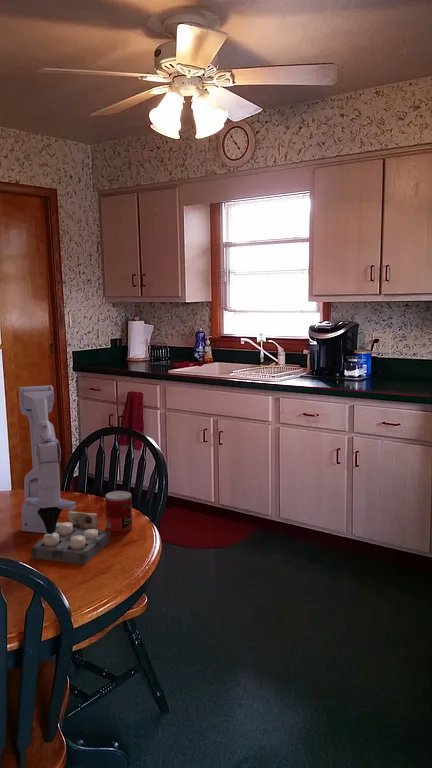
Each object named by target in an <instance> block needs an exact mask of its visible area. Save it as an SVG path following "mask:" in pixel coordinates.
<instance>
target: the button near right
mask: <svg viewBox="0 0 432 768" xmlns="http://www.w3.org/2000/svg"><path fill="white" fill-rule="evenodd" d="M70 547H71V549H73V550H83V549H84V548H85V537H84V536H81V535H77V536H73V537H71V538H70Z"/></svg>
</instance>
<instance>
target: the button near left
mask: <svg viewBox="0 0 432 768" xmlns="http://www.w3.org/2000/svg"><path fill="white" fill-rule="evenodd" d="M43 538H44V546H46V547H56V546H58V545H59V534H58V533H53V534H47V533H44V535H43Z"/></svg>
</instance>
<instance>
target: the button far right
mask: <svg viewBox="0 0 432 768" xmlns="http://www.w3.org/2000/svg"><path fill="white" fill-rule="evenodd" d="M98 530H99V529H98ZM98 530H96V529H88V530H86V531H84V537H85V538H90V539H95V538H97V537H98Z"/></svg>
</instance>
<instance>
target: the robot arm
mask: <svg viewBox="0 0 432 768" xmlns="http://www.w3.org/2000/svg"><path fill="white" fill-rule="evenodd" d="M18 401H19V403H18V404H19V409H20V413H21V414H22V415H24V416H26V417H27V419H28V422H29V434H30V435H29V436H30V446H31V447H30V448H31V463H32V469H31V470H30V471H28V472H27V473H26V474H25V476H24V478H23V480H24V484H23V487H24V498H25V499H24V500H23V503H22V505H21V526H22V527H21V529H20V532H21V531H22V532H28V533H30V532H31V533H37V534H38V533H39V534H53V533H54V532H55V530H56V529H57V528H58V525H59V524H61V523H62V522H58V520H59V518H60V517H59V516H60V515H61V513H62V511H63V510H68V512H69V511H72V512H74V510H75V509H76V507H77V505H76V501H72V500H68V499H65V498H61V483H60V482H61V481H60V478H61V477H60V463H61V459H62V455H61V454H62V450H61V445H60V442H59V440H58V438H56V433H55V428H54V425H53V423H52V422H50V421H49V413H51V412H52V409H53V408H54V407H53V406H54V404H55V392H54V387H53V386H52V384H48V385H34V386H20V387H19V388H18Z"/></svg>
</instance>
